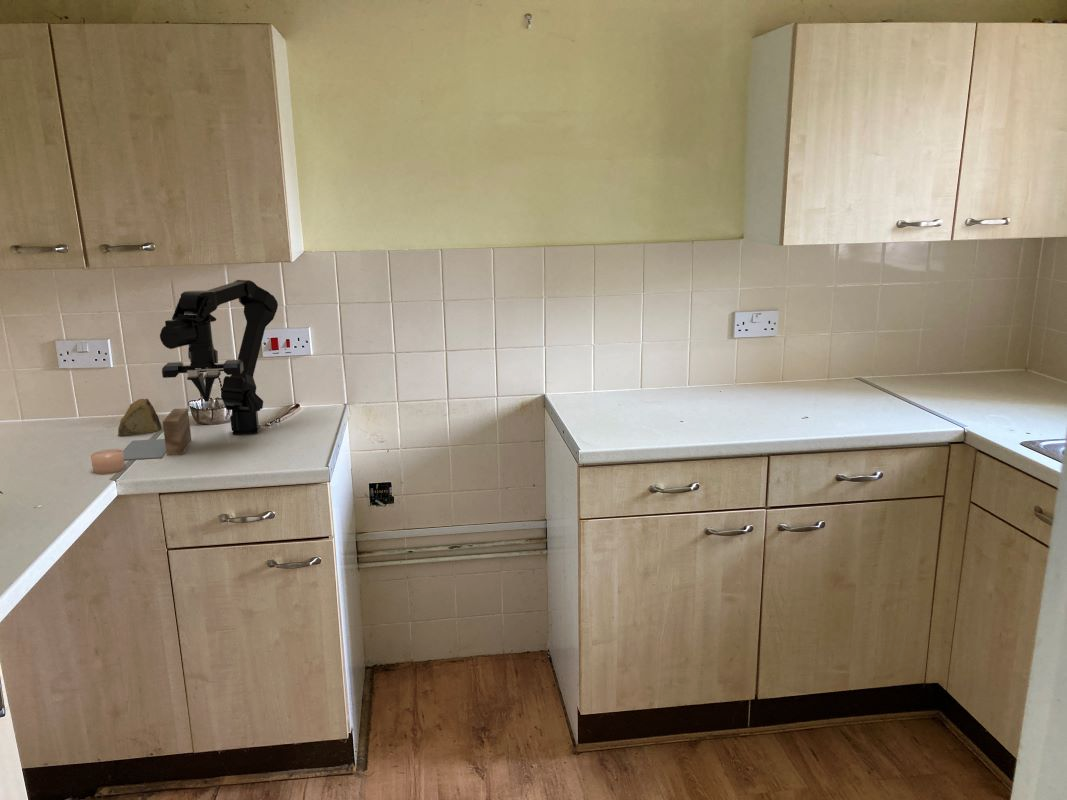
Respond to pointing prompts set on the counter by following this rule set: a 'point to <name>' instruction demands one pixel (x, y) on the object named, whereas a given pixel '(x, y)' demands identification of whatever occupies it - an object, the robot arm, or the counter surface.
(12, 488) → the counter surface
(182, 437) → the slab
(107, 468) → the peach rounded cylinder
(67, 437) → the counter surface
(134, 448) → the mat
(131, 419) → the rock
